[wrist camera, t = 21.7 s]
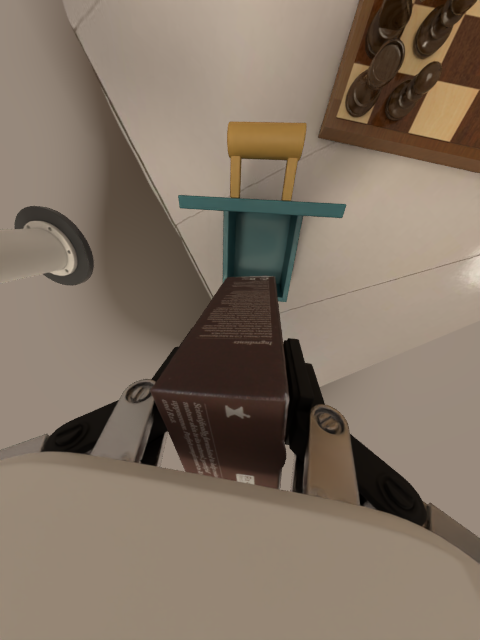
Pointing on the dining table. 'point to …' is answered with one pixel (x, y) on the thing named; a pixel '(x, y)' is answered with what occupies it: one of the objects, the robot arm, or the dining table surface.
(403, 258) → the dining table surface
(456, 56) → the chess set
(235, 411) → the box
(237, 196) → the lid
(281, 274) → the chest
